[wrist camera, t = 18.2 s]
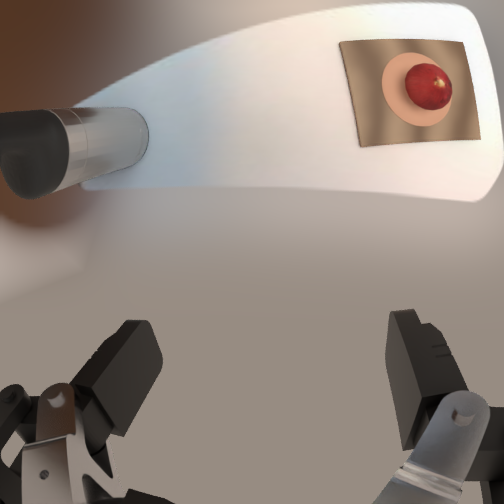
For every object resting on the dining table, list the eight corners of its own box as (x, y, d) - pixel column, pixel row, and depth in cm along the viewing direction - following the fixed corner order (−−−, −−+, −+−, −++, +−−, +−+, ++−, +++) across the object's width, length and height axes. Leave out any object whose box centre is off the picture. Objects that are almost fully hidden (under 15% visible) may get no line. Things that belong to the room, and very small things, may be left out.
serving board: (360, 146, 37) (362, 147, 36) (339, 44, 32) (340, 41, 31) (476, 138, 33) (481, 139, 32) (459, 43, 28) (463, 41, 27)
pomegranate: (436, 71, 30) (463, 62, 22) (439, 113, 32) (467, 112, 24) (396, 66, 31) (416, 52, 23) (398, 108, 33) (420, 105, 25)
